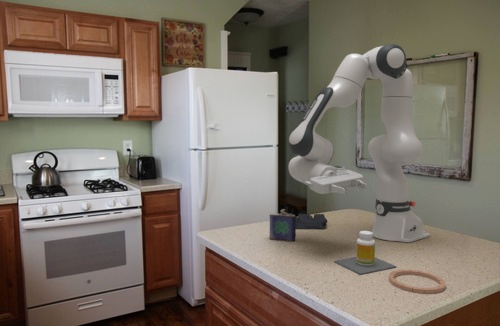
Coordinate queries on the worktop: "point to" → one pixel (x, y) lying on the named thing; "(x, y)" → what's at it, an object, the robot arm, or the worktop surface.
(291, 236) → the flask
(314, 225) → the dark slate chunk
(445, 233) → the worktop surface
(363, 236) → the supplement bottle
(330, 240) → the worktop surface
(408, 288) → the segmented terracotta ring
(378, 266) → the mat
